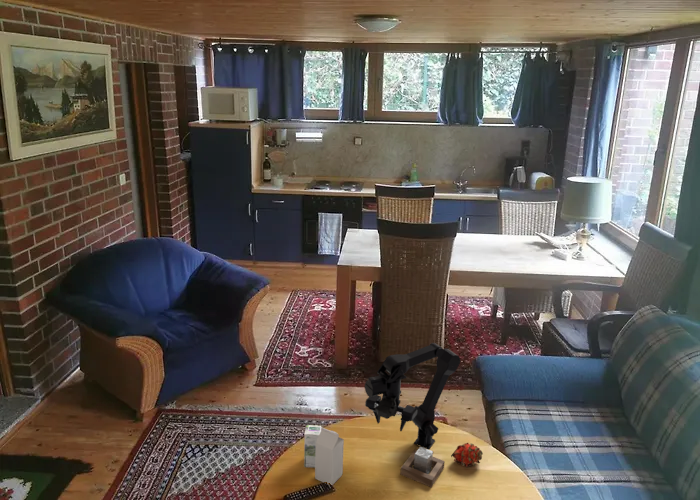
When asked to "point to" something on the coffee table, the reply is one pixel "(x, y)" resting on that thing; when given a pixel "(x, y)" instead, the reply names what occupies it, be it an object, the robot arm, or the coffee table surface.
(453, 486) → the coffee table surface
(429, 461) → the rectangular block
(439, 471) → the well block
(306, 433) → the syrup box
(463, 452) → the dragon fruit
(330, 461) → the milk carton
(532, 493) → the coffee table surface
